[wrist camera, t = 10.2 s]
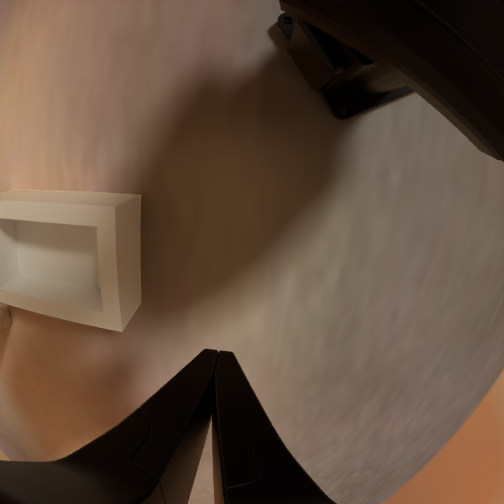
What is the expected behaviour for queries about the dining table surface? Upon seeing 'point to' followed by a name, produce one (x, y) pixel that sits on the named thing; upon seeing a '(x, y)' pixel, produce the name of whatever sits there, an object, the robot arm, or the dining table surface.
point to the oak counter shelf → (4, 319)
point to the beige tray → (72, 255)
